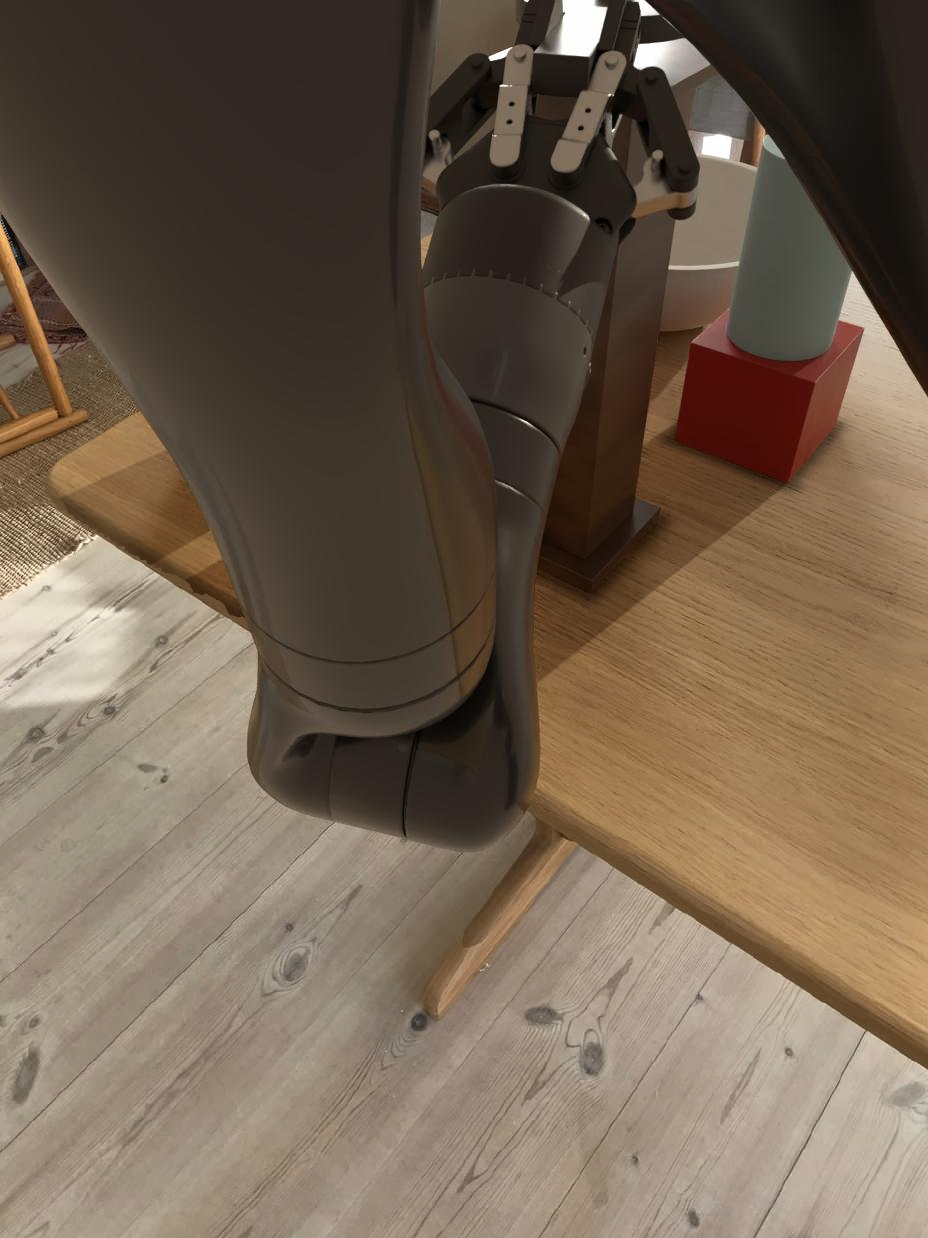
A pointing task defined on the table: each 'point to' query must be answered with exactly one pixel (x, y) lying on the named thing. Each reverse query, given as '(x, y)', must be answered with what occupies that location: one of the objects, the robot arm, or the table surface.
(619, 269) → the stand
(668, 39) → the lid
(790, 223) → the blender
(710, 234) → the bowl
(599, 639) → the table surface
